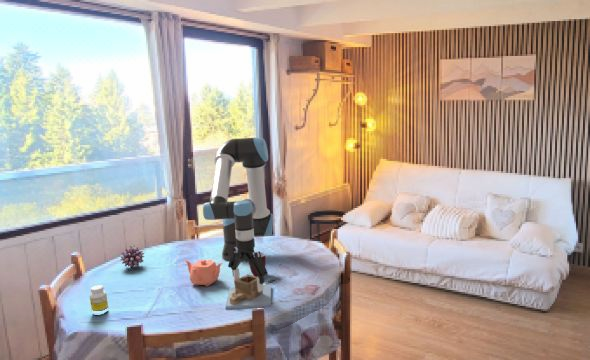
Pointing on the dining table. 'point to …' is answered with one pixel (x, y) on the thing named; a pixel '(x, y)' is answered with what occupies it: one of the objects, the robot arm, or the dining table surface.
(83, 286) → the dining table surface
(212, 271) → the teapot
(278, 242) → the dining table surface
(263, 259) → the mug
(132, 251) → the spiky ball
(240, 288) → the tan hollow block
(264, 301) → the post plate
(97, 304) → the pill bottle
